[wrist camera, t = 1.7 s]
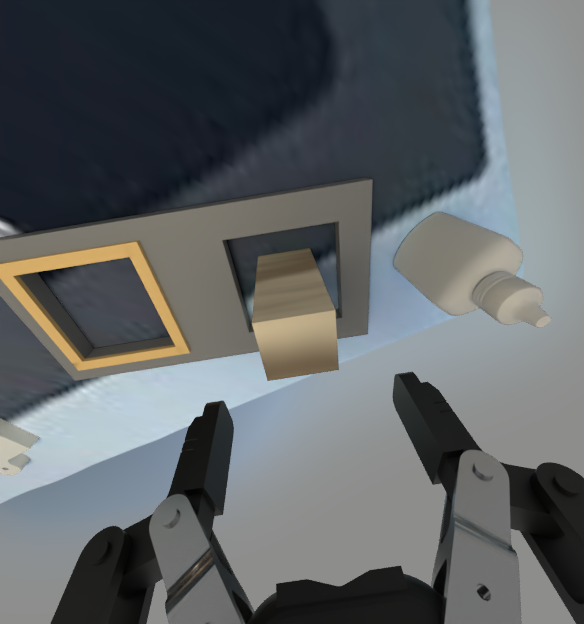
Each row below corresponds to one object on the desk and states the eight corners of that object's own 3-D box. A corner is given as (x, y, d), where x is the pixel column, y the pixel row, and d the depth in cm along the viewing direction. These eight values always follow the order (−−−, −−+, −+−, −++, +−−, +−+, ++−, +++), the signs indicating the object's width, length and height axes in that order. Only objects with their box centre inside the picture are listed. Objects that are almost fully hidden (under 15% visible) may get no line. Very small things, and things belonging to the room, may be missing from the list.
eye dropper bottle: (456, 249, 23) (601, 327, 13) (396, 278, 24) (488, 371, 14) (448, 204, 21) (615, 257, 11) (382, 238, 22) (479, 315, 12)
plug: (258, 256, 22) (251, 323, 14) (309, 247, 22) (335, 310, 14) (267, 300, 24) (267, 380, 16) (314, 293, 24) (338, 369, 16)
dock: (-23, 241, 20) (-49, 249, 18) (365, 177, 19) (374, 180, 18) (84, 369, 27) (72, 383, 26) (363, 325, 27) (369, 336, 25)
